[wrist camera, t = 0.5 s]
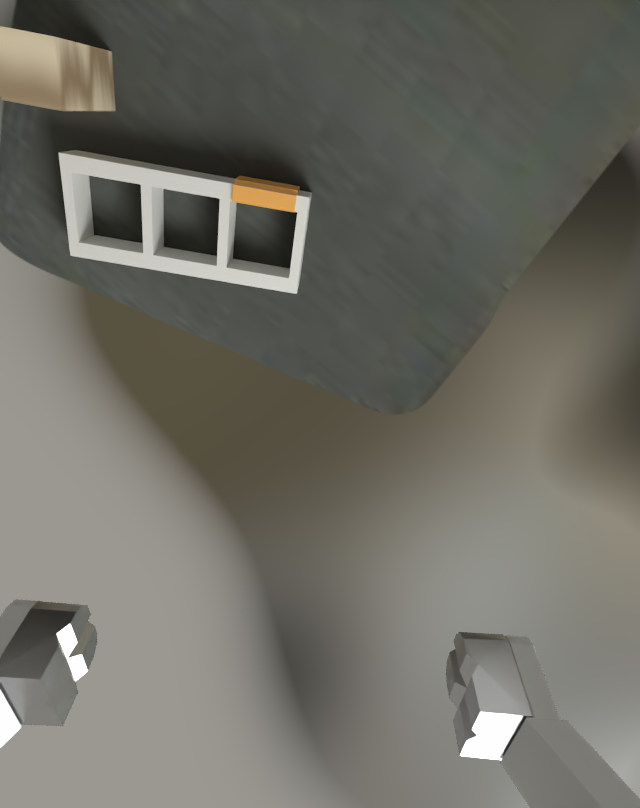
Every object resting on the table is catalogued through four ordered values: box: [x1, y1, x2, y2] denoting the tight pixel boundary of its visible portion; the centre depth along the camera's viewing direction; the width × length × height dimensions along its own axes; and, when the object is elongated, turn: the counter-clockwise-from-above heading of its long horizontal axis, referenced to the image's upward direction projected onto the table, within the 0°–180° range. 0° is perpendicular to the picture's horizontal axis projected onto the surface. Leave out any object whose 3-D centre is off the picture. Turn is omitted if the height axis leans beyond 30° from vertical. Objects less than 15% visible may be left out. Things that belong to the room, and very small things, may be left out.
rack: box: [58, 150, 312, 294], centre depth 48 cm, size 10×24×4 cm, turn 81°
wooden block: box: [0, 26, 115, 111], centre depth 39 cm, size 5×5×10 cm
